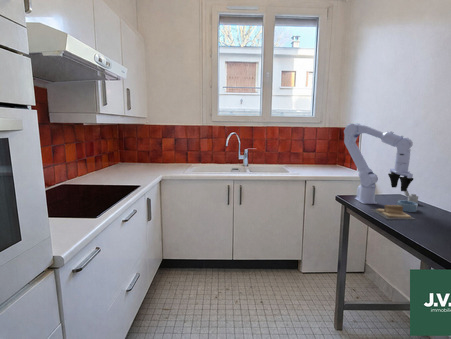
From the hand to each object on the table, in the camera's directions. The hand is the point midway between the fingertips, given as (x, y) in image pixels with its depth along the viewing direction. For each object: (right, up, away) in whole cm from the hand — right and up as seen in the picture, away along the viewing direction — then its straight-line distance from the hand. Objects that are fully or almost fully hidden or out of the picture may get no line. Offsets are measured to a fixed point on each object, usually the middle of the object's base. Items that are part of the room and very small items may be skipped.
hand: (398, 189), depth 133 cm
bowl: (+4, -10, 0) cm, 11 cm away
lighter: (+12, -9, +10) cm, 18 cm away
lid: (-8, -11, -8) cm, 16 cm away
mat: (-8, -11, -8) cm, 16 cm away
